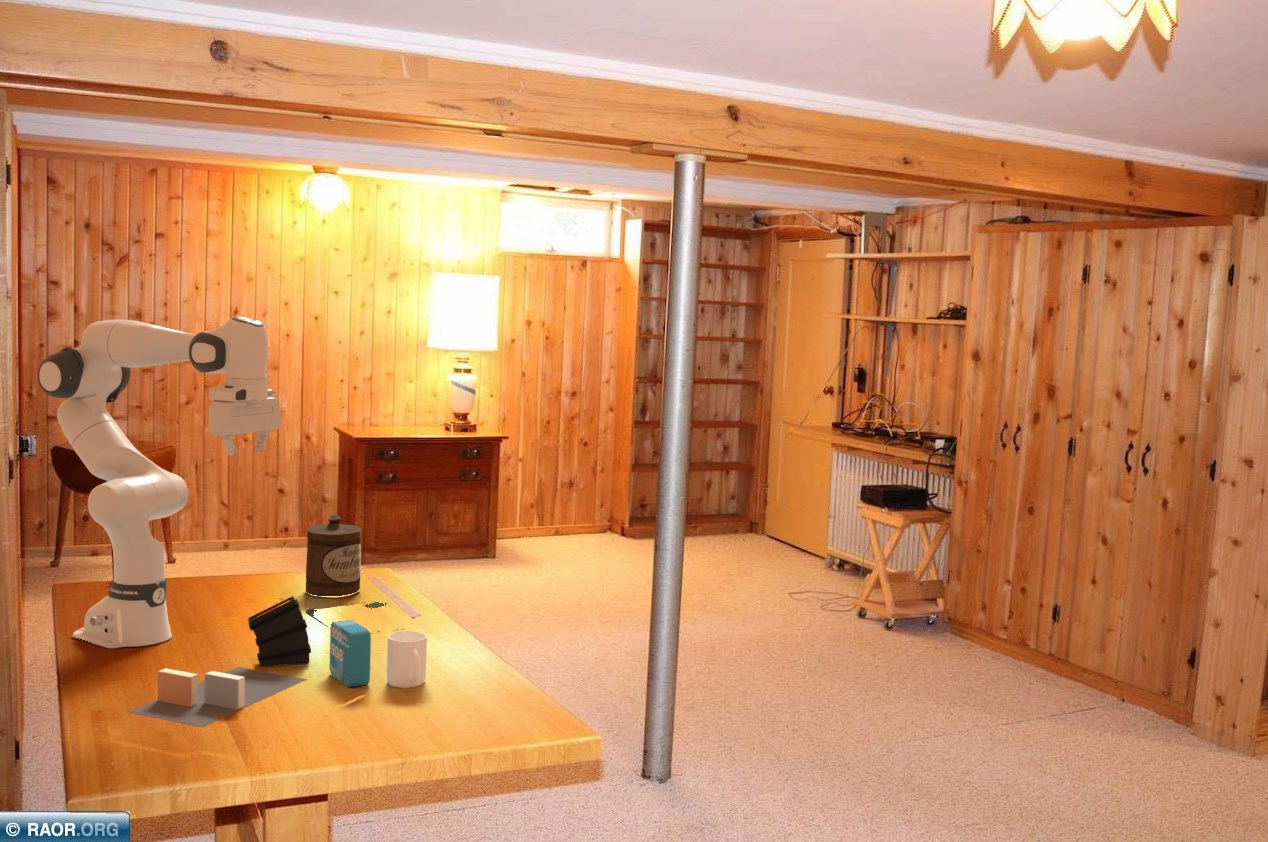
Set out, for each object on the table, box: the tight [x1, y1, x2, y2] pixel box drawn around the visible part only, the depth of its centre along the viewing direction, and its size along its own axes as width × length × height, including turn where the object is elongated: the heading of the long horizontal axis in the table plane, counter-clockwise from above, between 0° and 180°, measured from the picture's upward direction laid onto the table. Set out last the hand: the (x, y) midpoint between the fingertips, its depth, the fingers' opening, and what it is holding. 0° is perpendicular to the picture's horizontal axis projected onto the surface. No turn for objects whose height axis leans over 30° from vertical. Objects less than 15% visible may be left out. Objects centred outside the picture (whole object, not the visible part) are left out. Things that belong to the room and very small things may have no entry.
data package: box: [329, 620, 372, 688], centre depth 248 cm, size 12×4×12 cm, turn 36°
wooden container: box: [305, 514, 362, 596], centre depth 322 cm, size 15×15×22 cm
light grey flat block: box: [204, 670, 245, 710], centre depth 228 cm, size 8×2×6 cm, turn 69°
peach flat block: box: [157, 667, 199, 707], centre depth 228 cm, size 8×2×6 cm, turn 69°
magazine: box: [247, 595, 312, 667], centre depth 257 cm, size 4×13×15 cm, turn 111°
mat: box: [127, 666, 307, 728], centre depth 234 cm, size 18×32×1 cm, turn 159°
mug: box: [386, 630, 428, 689], centre depth 246 cm, size 12×8×10 cm
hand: (245, 452), depth 255 cm, fingers open, 8 cm apart
